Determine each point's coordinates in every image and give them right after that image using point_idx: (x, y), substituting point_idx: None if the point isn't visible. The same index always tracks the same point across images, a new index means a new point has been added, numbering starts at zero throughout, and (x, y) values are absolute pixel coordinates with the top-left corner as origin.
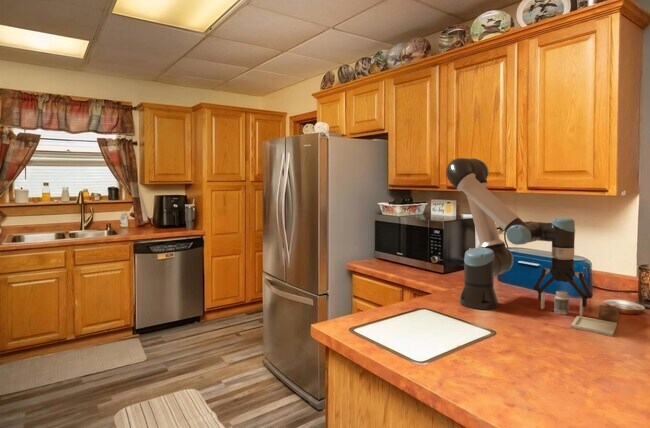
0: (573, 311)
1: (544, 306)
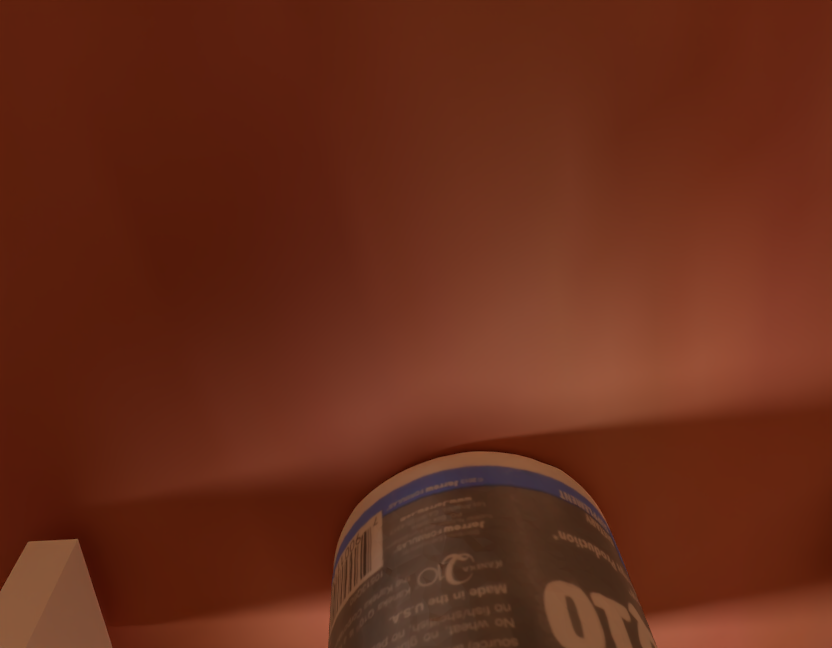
0: (710, 288)
1: (71, 572)
